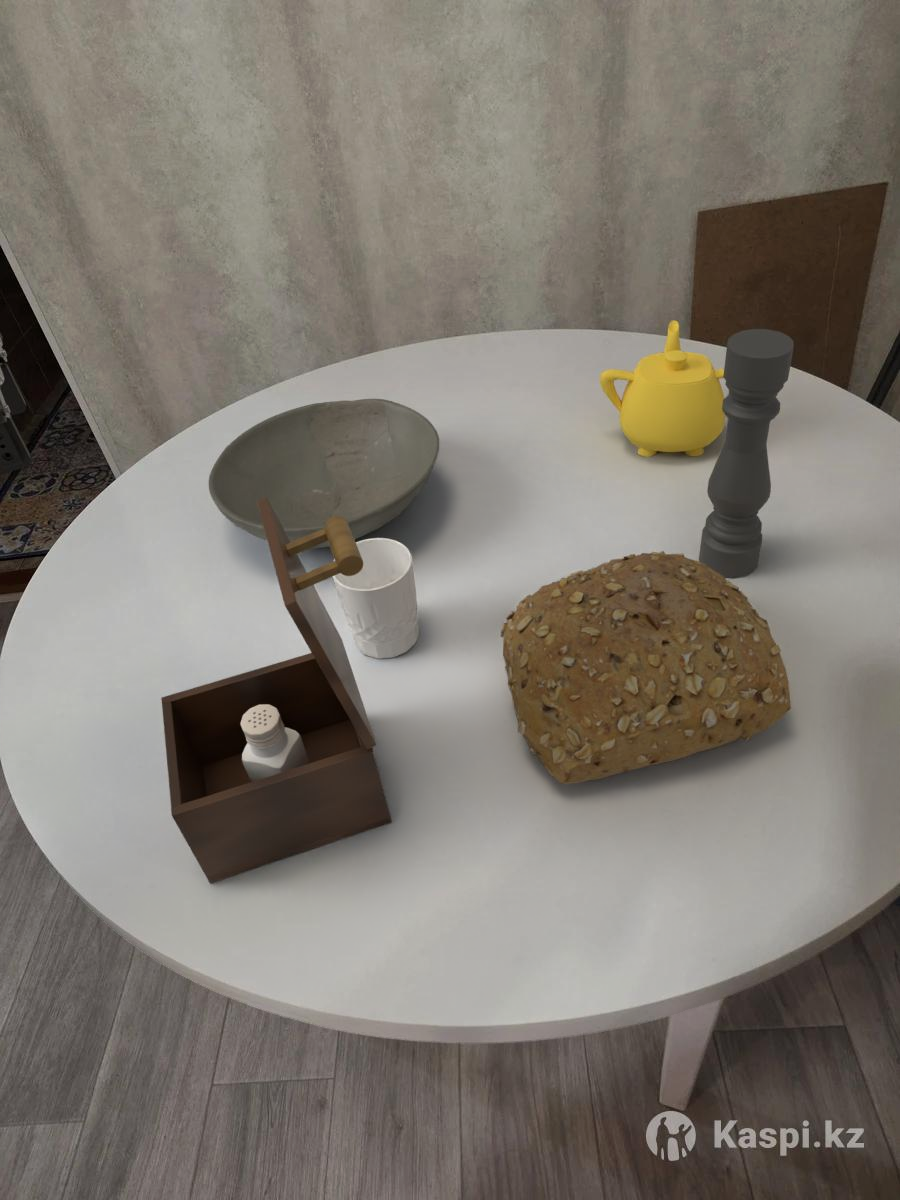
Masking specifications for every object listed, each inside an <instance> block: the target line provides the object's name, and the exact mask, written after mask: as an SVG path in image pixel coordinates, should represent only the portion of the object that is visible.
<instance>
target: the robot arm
mask: <svg viewBox="0 0 900 1200" xmlns="http://www.w3.org/2000/svg"><path fill="white" fill-rule="evenodd" d="M3 339H4V337H3V335H2V333H1V332H0V472H2V473H10V472H13V471H16V470H20V469H23V468H28V467H29V466H30V465H31V463H32V458H31V454H30V452H29V449H28V448H27V446H26V444H25V442H24V440H23V438H22V436H21V434H20V432H19V430H18V428H17V426H16V424H15V422H14V420H13V418H12V416H16V415H19V414H22V413H24V412H25V411H26V409H27V403H26V401H25V398H24V396H23V394H22V392H21V390H20V388H19V386H18V383H17V382H16V379H15V378H14V375H13V373H12V371H11V369H10V367H9V366H8V363H7V362H8V359H7V357H8V354H7V351H6V350H5V349H3V345H4V342H3Z"/></svg>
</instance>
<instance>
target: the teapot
mask: <svg viewBox="0 0 900 1200" xmlns="http://www.w3.org/2000/svg"><path fill="white" fill-rule="evenodd" d="M723 375H724V368H718V369H715V368H714V366H713V364H712V362H711V360H710V359H709V358H708V357H707V356H706V355H704V354H701V353H697V352H691V351H683V350H681V342H680V324H679V322H678V321H677V320H674V319H673V320H671V321H670V322H669V324H668V328H667V335H666V341H665V346H664V349H663V352H656V353H652V354H648V355H646V356H644V357H642V358H641V359H640V360H639V362H638V363H637V365H636V366H635V368H634V369H633V371H630V370H626V369H625V370H624V369H614V368H611V369H609V368H608V369H605V370H603V371H602V372H601V374H600V375H599V383H600V386H601V389H602V391H603V392H604V394H605V395H606V397H607V398H608V400H609V401H610V402H611V404H612V405H613V406H614V407H615V408H616V410H618V412H619V418H618V419H619V425H620V427H621V430H622V432H623V435H624V436H625V437H626V438H627V440H629V442H630V443H631V444H632V445H634V446H636V447H637V448H638V449H637V453H638V455H640V456H642V457H646V458H649V457H653V456H655V455H656V454H657V452H666V453H675V452H676V453H677V452H678V453H679V452H684V453H685V455H687V456H689V457H700V456H702V455H703V454H704V452H705V450H704V448H705V447H707V446H709V445H711V444H712V443H713V442H714V441H715V440H717V438H718V437H719V436H720V435H721V433H722V432H723V430H724V426H725V420H726V415H725V414H724V412H723V411H722V405H723V400H724V399H725V396H724V391H723V387H722V384H721V382H720V379H724V377H723ZM617 380H621V381H622V380H623V381H627V383H626V386H625V388H624V391H623V394H622V398H621V397H620V396H619V394H618V393H617V389H616V386H615V384H614V382H615V381H617ZM728 395H729V393H728V394H727V396H728Z"/></svg>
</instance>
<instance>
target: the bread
mask: <svg viewBox="0 0 900 1200" xmlns="http://www.w3.org/2000/svg"><path fill="white" fill-rule="evenodd" d="M502 637H503V639H502V642H503V643H502V656H503V660H504V663H505V664H504V665H505V666H504V669H505V671H506V674H507V687H508V689H509V691H510V693H511V698H512V705H513V708H514V712H515V715H516V718H517V722H518V725H517V733H518V734H519V733H520V734H522V735H523V737H524V739H525V741H526V742H527V744H528V746H529V752H530V753H531V754H532V755H536V756H537V758H538V760H539V761H540V762H541V763H542V764H543V766H544V768H545V769H546V770H547V771H548V773H549V774H550V775H551V776H553V777H554V778H555V780H557V782H558V783H559V784H579V783H583V782H586V781H589V780H592V781H593V780H601V779H604V778H608V777H610V776H615V775H618V774H622V773H625V772H629V771H634V770H639V769H642V768H646V767H651V766H653V765H659V764H662V763H667V762H672V761H676V760H680V759H683V758H686V757H688V756H691V755H694V754H696V753H700V752H704V751H707V750H710V749H715V748H718V747H721V746H725V745H727V744H728V743H731V742H733V741H740V740H741V739H744V740H745V741H747V740H749V739H750V738H751V737H752V736H753V735H756V734H758V733H761V732H763V731H765V730H768V729H769V728H770V727H771V726H773V725H775V724H776V723H777V722H779V721H780V720H781V719H782V718H783V717H785V715H786V714H787V713H788V712H789V711H790V710H791V709H792V707H791V706H792V705H791V697H790V694H791V693H790V683H789V678H788V674H787V669H786V666H785V664H784V661H783V658H782V655H781V648H780V645H779V644H777V643H776V641H775V639H774V637H773V636H772V634H771V629H770V626H769V623H768V620H767V619H765V618H763V617H761V616H760V615H759V613H758V612H757V609H756V608H754V607H753V605H752V604H751V603H750V602H749V601H748V596H746V595H745V594H744V592H743V591H742V590H740V588H739V586H737V585H735V584H734V583H732V582H731V581H730V580H728V579H727V578H726V577H724V576H723V575H721V574H719V573H718V572H716V571H714V570H713V569H711V568H710V567H708V566H707V565H705V564H703V563H701V562H700V561H699V560H694V559H692V558H688V557H685V554H684V552H683V553H665V552H664V550H661V551H659V552H656V551H651V552H650V553H648V552H647V553H646V552H643V553H641V554H634V553H633V554H631V553H630V554H629V555H626V556H623V557H622V558H614V559H613V558H612V559H610V561H609V562H607V561H605V562H602V563H601V564H599V565H597V566H596V567H592V568H589V569H588V570H579V571H576V572H571V573H570V574H569V575H568V576H566V577H561V578H560V579H559V580H557V581H553V582H551V583H549V584H545V585H541V586H540V587H539V589H538V590H537V591H535V592H534V593H533V594H528V595H526V597H524V598H523V599H522V600H521V601H520V602H519V603H518V605H516V610H515V611H512V610H511V611H510V613H509V614H508V616H507V617H506V622H503V624H502V627H501V630H500V638H502Z"/></svg>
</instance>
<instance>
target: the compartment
mask: <svg viewBox="0 0 900 1200" xmlns="http://www.w3.org/2000/svg"><path fill="white" fill-rule="evenodd" d="M160 699H161V700H160V701H161V709H162V719H163V733H164V742H165V754H166V763H167V765H166V767H167V776H168V778H167V779H168V787H169V788H168V789H169V799H170V807H171V808H170V811H171V817H172V820H174V822H175V824H176V826H177V828H178V829H179V831H180V834H181V835H182V837H183V839H184V840H185V842H186V843H187V846H188V847H189V849H190V851H191V852H192V854H193V856H194V858H195V860H196V861H197V863H198V865H199V867H200V869H201V870H202V872H203V874H204V875H205V877H206V880H207V881H208V883H209V884H212V883H215V882H218V881H219V882H220V881H221V880H224V879H227V878H228V879H229V878H231V877H233V876H237V875H240V874H242V873H243V874H244V873H246V872H248V871H251V870H254V869H257V868H260V867H263V866H266V865H269V864H272V863H275V862H278V861H281V860H284V859H287V858H290V857H293V856H296V855H299V854H302V853H305V852H308V851H311V850H314V849H317V848H320V847H322V846H325V845H328V844H332V843H335V842H337V841H341V840H345V839H347V838H350V837H353V836H356V835H359V834H361V833H365V832H367V831H371V830H373V829H376V828H380V827H382V826H385V825H388V824H391V823H392V822H393V821H392V817H391V813H390V809H389V807H388V806H389V805H388V802H387V798H386V795H385V791H384V787H383V783H382V779H381V776H380V775H381V774H380V772H379V768H378V764H377V761H376V757H375V753H374V750H373V747H372V748H369V749H367V748H366V746H365V744H364V743H363V741H362V739H361V737H360V736H359V734H358V732H357V730H356V729H355V727H354V725H353V723H352V722H351V720H350V718H349V717H348V715H347V713H346V711H345V710H344V708H343V706H342V704H341V703H340V701H339V699H338V697H337V696H336V694H335V692H334V690H333V689H332V687H331V685H330V683H329V682H328V680H327V678H326V676H325V675H324V673H323V671H322V670H321V668H320V666H319V664H318V663H317V661H316V659H315V657H314V656H313V654H312V652H310V653H306V654H302V655H298V656H297V657H293V658H290V659H287V660H283V661H281V662H280V661H279V662H275V663H272V664H269V665H266V666H262V667H259V668H256V669H253V670H252V669H251V670H249V671H246V672H243V673H239V674H236V675H232V676H229V677H226V678H222V679H218V680H215V681H213V682H209V683H206V684H202V685H198V686H196V687H192V688H189V689H185V690H182V691H179V692H175V693H172V694H169V695H166V696H165V695H164V696H162V697H161V698H160ZM262 704H269V705H271V706H273V707H275V708H277V710H278V712H279V714H280V717H281V720H282V722H283V724H284V727H286V728H289V729H292V730H295V731H296V732H297V733H299V734H300V736H301V739H302V742H303V745H304V747H305V750H306V753H307V756H308V759H309V762H310V764H306V765H303V766H300V767H297V768H294V769H291V770H288V771H284V772H281V773H278V774H275V775H272V776H269V777H266V778H263V779H259V780H256V781H253V782H251V780H250V778H249V776H248V773H247V771H246V769H245V767H244V764H243V762H242V753H243V751H244V749H245V747H246V745H247V743H248V742H247V740H246V736H245V734H244V731H243V729H242V727H241V724H240V723H241V720H242V717H243V715H244V714H245V713H246V712H247V711H248V710H249V709H250V708H252V707H255V706H257V705H262Z"/></svg>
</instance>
